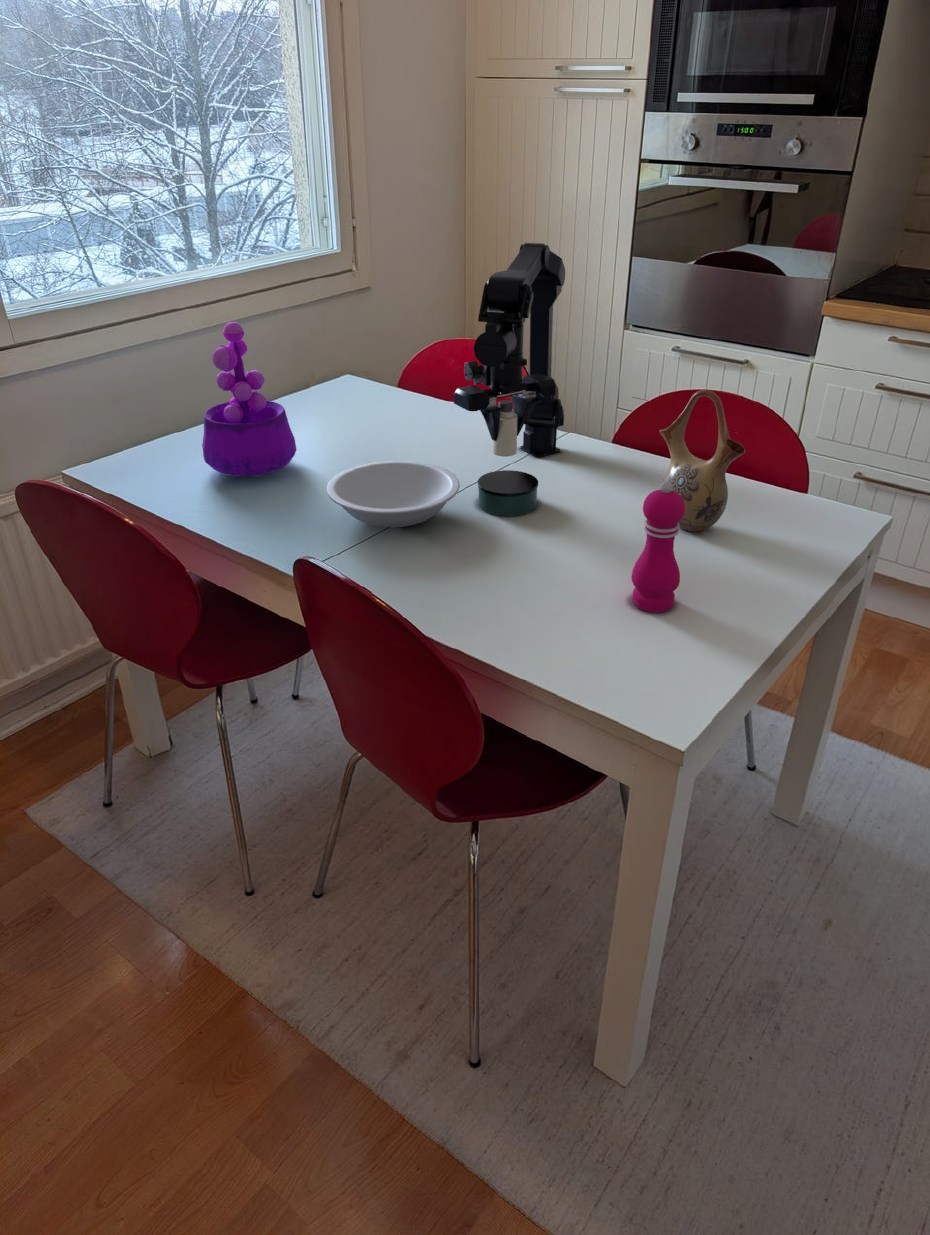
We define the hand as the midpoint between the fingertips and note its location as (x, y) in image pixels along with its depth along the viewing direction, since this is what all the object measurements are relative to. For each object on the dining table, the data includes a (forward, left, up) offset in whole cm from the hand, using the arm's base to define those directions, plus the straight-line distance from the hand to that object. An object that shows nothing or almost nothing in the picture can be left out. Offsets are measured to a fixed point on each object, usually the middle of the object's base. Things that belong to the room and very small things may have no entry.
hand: (505, 437), depth 163 cm
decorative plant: (+35, -42, -13) cm, 56 cm away
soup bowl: (+21, -5, -13) cm, 25 cm away
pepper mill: (+2, +44, -13) cm, 46 cm away
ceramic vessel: (-22, +27, -13) cm, 37 cm away
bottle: (0, 0, -3) cm, 3 cm away
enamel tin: (0, +1, -13) cm, 13 cm away
